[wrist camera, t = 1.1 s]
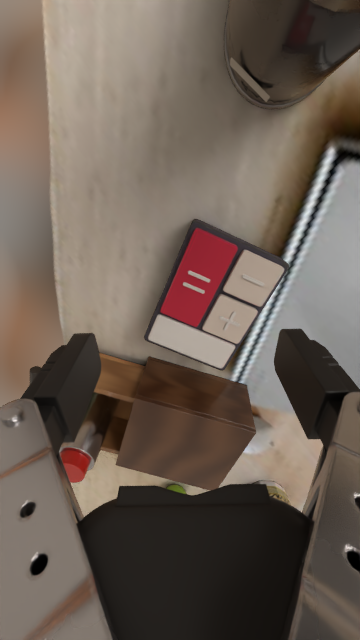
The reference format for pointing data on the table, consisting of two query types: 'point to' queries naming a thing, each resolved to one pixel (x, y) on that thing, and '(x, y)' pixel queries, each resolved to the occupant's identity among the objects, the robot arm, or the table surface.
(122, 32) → the table surface
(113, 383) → the drawer
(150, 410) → the cabinet
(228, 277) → the calculator
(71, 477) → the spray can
